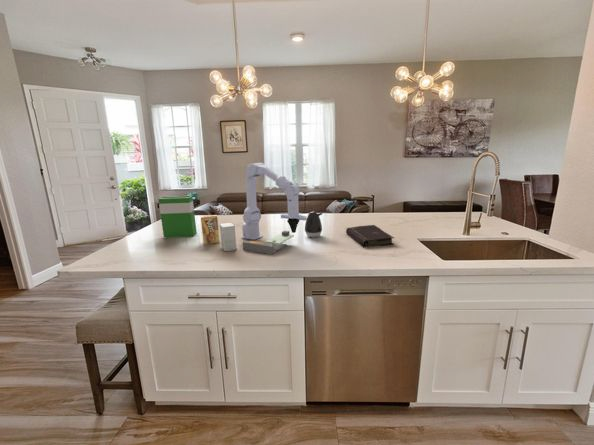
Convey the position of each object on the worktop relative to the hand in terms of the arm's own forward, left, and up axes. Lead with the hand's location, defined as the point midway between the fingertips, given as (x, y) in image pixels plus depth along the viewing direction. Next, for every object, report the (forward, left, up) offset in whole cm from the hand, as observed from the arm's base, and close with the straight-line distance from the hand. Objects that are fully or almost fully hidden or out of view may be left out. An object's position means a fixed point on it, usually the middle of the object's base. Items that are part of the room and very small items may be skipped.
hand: (293, 232), depth 157 cm
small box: (-30, -19, -7) cm, 36 cm away
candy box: (-46, -15, -7) cm, 48 cm away
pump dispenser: (+3, +18, -7) cm, 20 cm away
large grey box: (-13, -10, -7) cm, 17 cm away
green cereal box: (-74, -12, -7) cm, 75 cm away
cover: (-5, -6, -3) cm, 8 cm away
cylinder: (-15, -13, -5) cm, 20 cm away
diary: (+35, +26, -8) cm, 44 cm away
